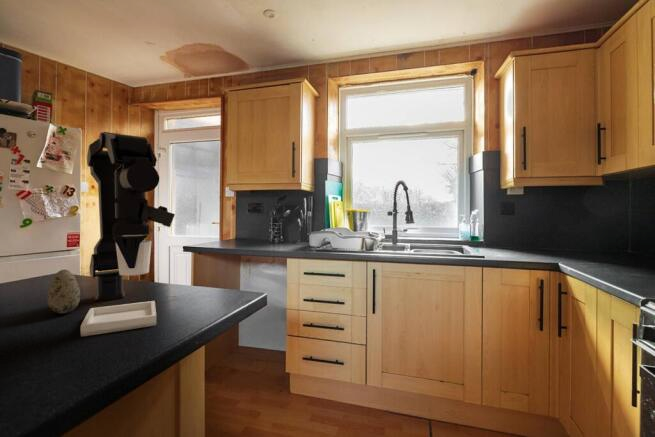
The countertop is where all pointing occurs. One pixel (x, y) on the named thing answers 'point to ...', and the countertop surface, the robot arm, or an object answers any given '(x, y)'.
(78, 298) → the decorative egg
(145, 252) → the white cup
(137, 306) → the tray
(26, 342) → the countertop surface
